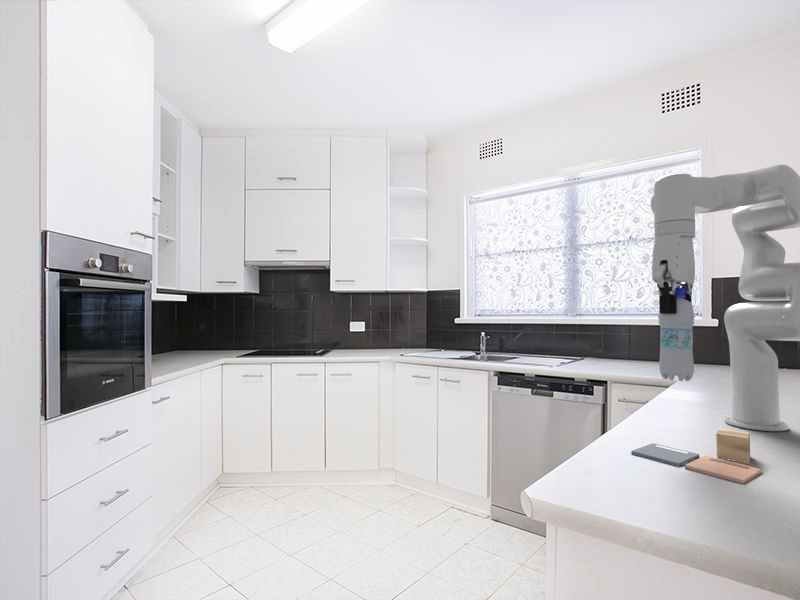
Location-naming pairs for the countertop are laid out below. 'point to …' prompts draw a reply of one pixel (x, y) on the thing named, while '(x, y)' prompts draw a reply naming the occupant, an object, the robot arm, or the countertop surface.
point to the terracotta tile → (724, 469)
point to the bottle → (677, 340)
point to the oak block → (733, 445)
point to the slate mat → (665, 454)
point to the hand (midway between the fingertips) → (675, 313)
